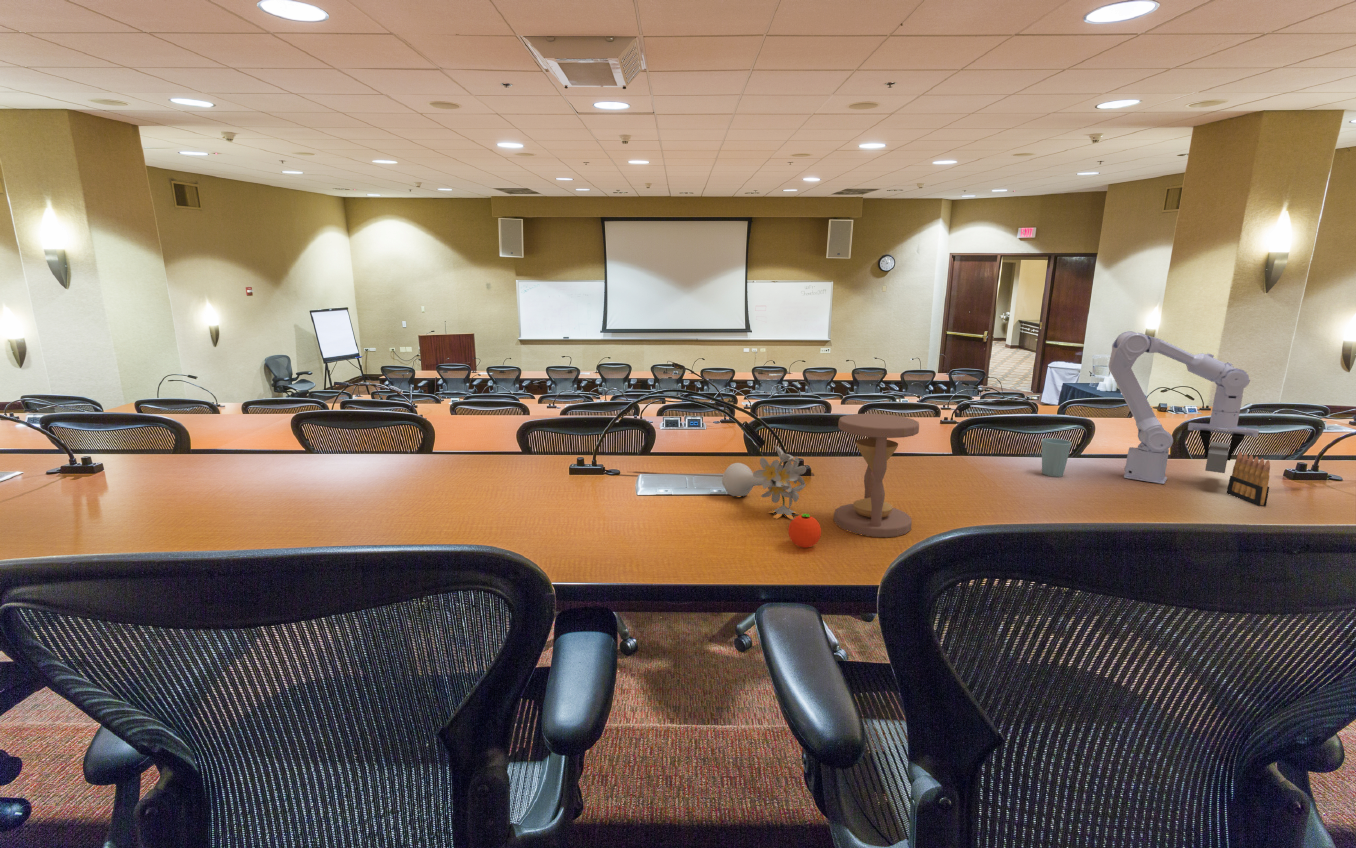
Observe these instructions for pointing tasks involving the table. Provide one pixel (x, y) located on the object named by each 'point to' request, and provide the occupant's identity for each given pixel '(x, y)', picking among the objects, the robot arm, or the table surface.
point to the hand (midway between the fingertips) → (1217, 458)
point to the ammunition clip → (1250, 480)
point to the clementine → (804, 531)
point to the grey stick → (1217, 457)
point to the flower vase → (767, 479)
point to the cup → (1054, 456)
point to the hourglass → (875, 475)
